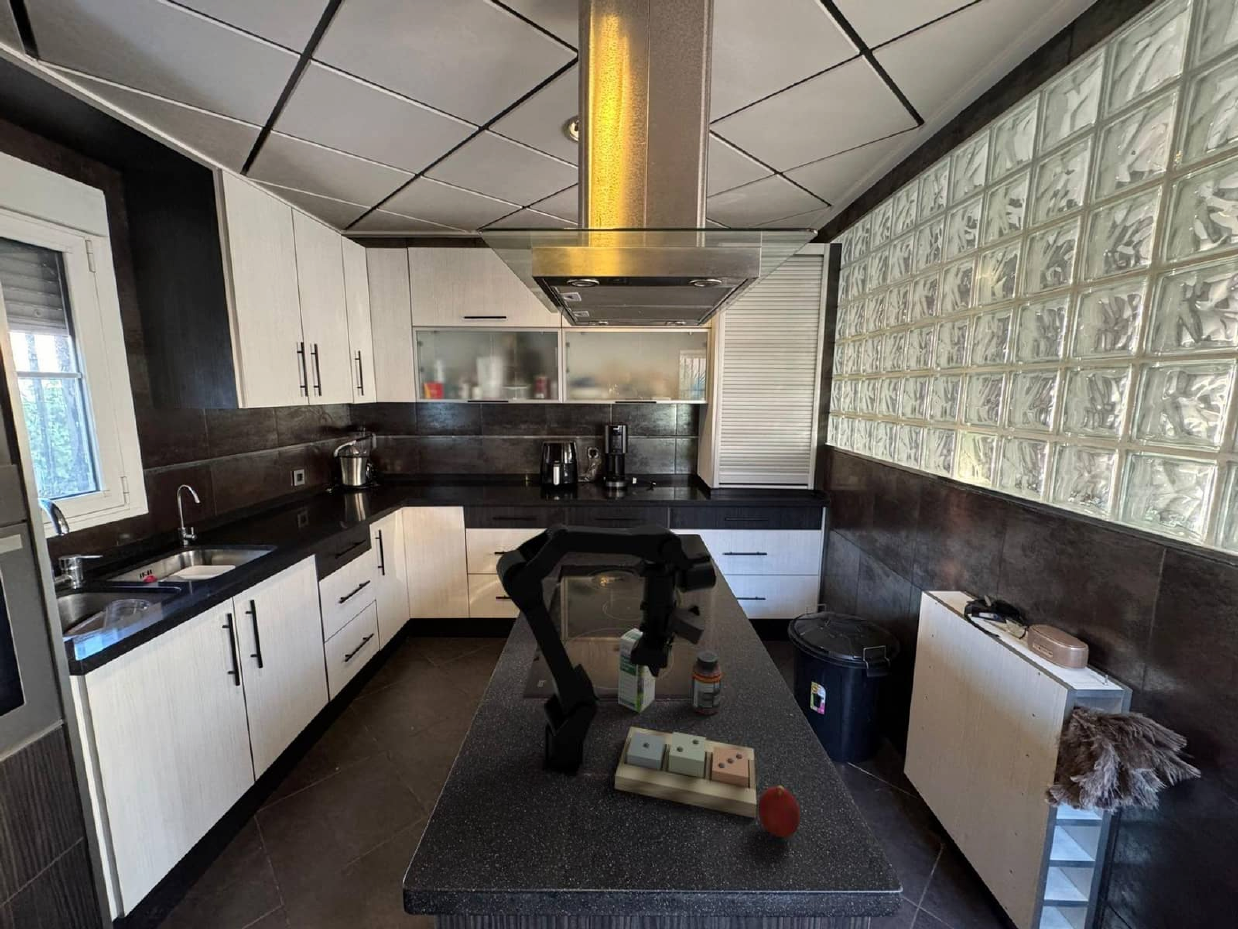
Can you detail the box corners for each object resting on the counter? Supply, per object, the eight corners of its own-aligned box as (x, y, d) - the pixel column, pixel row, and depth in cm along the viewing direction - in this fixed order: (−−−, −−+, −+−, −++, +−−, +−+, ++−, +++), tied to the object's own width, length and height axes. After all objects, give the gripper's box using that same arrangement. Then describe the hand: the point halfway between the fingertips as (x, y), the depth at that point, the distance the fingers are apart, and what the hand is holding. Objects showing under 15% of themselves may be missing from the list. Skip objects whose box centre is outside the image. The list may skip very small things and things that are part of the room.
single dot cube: (626, 770, 82) (627, 753, 82) (633, 746, 88) (633, 731, 87) (659, 776, 81) (660, 760, 81) (664, 752, 86) (665, 736, 86)
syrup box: (616, 703, 101) (618, 637, 99) (632, 689, 106) (634, 626, 104) (640, 714, 98) (642, 646, 96) (655, 699, 103) (657, 634, 101)
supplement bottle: (695, 694, 105) (698, 645, 103) (723, 703, 102) (726, 652, 100) (686, 710, 99) (689, 658, 98) (715, 720, 97) (718, 666, 95)
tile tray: (614, 788, 80) (615, 775, 79) (630, 738, 91) (630, 726, 91) (755, 818, 75) (756, 804, 74) (752, 761, 86) (753, 748, 86)
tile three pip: (711, 787, 79) (712, 769, 79) (712, 761, 85) (713, 745, 84) (747, 794, 78) (748, 776, 77) (746, 768, 83) (747, 751, 83)
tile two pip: (668, 771, 81) (669, 754, 80) (672, 747, 86) (673, 731, 85) (702, 778, 79) (704, 760, 79) (705, 753, 85) (705, 737, 84)
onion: (766, 810, 76) (769, 764, 75) (803, 832, 73) (808, 784, 71) (750, 836, 72) (753, 787, 70) (789, 860, 68) (793, 809, 67)
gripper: (700, 625, 77) (695, 715, 80) (706, 581, 95) (702, 656, 98) (631, 616, 80) (628, 704, 82) (650, 575, 98) (647, 648, 100)
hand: (655, 676), depth 90 cm, fingers closed
